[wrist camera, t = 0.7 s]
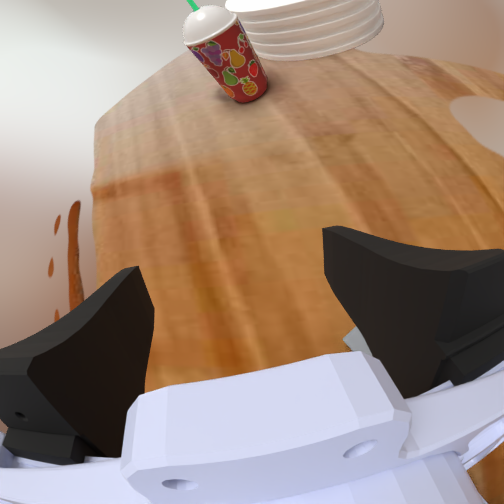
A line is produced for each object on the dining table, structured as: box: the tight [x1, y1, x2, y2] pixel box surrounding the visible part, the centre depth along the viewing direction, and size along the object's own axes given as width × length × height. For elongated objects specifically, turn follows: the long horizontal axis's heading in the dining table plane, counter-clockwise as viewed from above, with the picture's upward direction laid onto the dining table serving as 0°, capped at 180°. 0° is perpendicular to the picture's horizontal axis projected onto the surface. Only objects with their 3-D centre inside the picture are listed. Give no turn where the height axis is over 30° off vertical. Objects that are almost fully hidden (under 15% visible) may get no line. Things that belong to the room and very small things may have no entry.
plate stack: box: [225, 0, 384, 61], centre depth 41 cm, size 28×28×12 cm
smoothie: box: [183, 0, 267, 103], centre depth 35 cm, size 8×8×20 cm
